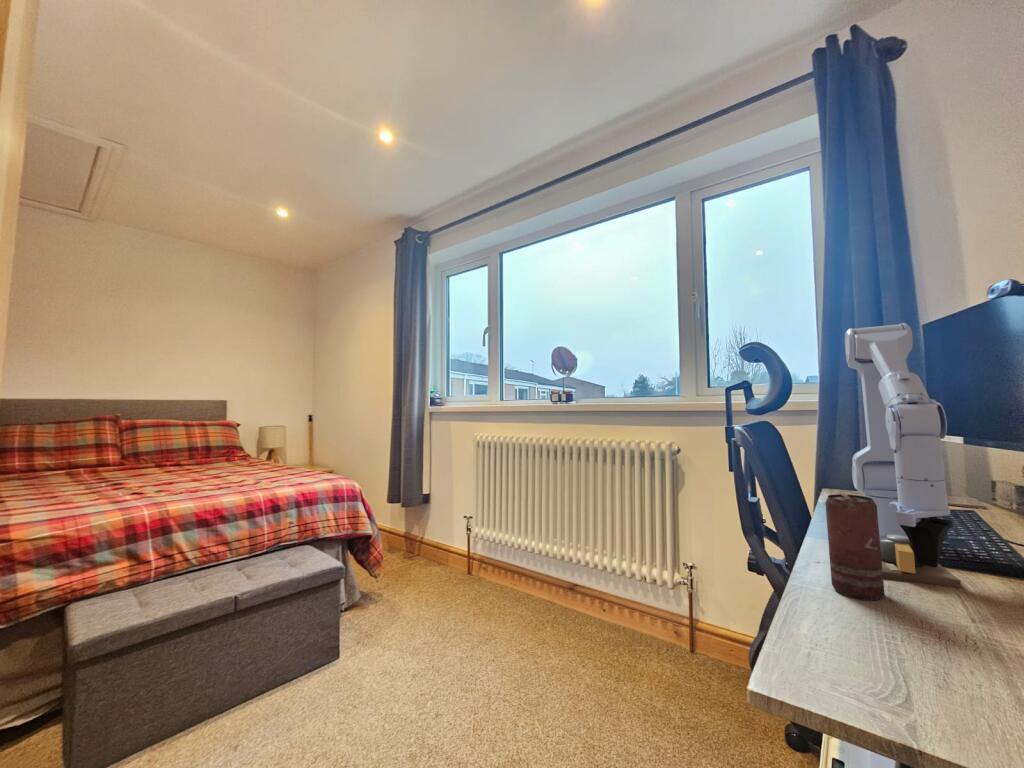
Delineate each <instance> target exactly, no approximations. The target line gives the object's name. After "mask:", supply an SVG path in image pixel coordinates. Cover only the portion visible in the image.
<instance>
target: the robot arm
mask: <svg viewBox="0 0 1024 768" xmlns="http://www.w3.org/2000/svg"><path fill="white" fill-rule="evenodd" d="M912 331H913V330H912V328H911V326H910V325H908V324H907V323H906V322H902V323H899V324H888V325H879V326H877V325H876V326H868V327H859V328H848V329H847V330H846V331H845V334H844V348H845V357H846V363H847V366H848V368H849V369H853V370H855V371H856V370H857V372H858V374H859V378H860V379H861V380H860V381H861V390H862V401H863V410H864V412H863V413H864V423H865V424H864V425H865V432H866V443H867V445H866V447H864V448H862V449H860V450H858V451H857V452H855V453H854V454H853V456H852V458H851V461H852V465H851V476H852V483H853V486H854V489H856V490H857V492H860V493H862V496H864V497H869V498H872V499H873V501H874V502H875V504H876V505H877V513H878V525H879V536H880V535H902V536H907V537H908V539H909V541H910V543H911V546H912V548H913V551H914V554H915V556H916V559H917V561H918V563H919V564H921V565H925V566H930V567H934V568H936V567H938V564H940V560H941V555H942V549H943V545H944V541H945V538H946V536H947V534H948V532H949V531H950V530H951V527H952V526H953V522H952V521H951V520H949V519H944V518H938V517H945V516H950V515H951V509H950V507H949V504H948V503H949V502H948V495H947V494H948V493H947V486H946V485H947V484H946V474H945V463H944V454H943V453H944V452H943V444H942V440H943V439H945V438H946V435H947V432H948V421H947V414H946V411H945V409H944V407H943V405H942V404H941V403H940V402H937V401H936V399H935V398H932V399H931V398H930V397H929V394H928V392H927V389H926V388H925V385H924V383H923V382H922V380H921V377H920V376H919V375H918V374H916V373H914V372H911V371H909V368H908V364H907V358H908V357H909V354H910V352H911V351H912V349H913V344H914V342H913V341H914V340H913V339H914V338H913V332H912Z"/></svg>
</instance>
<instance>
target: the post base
mask: <svg viewBox="0 0 1024 768" xmlns="http://www.w3.org/2000/svg"><path fill="white" fill-rule="evenodd" d="M882 571H883V579H888V580H896V581H904V582H905V581H906V582H913V583H923V584H929V585H938V586H946V587H953V588H954V587H957V588H962V584H961V583H962V582H961V579H959V577H956V576H955V574H953V573H951V572H950V571H949V570H947V569H946V568H945V567H943V566H942V565H941V564H940V563H939V564H938V567H936V568H934V567H930V566H925V565H920V566H915V572H916V574H915V573H908V572H901V571H900V570H899V568H898V566H897V564H896V563H892V562H888V561H885V560H883V559H882Z"/></svg>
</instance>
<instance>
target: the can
mask: <svg viewBox="0 0 1024 768" xmlns="http://www.w3.org/2000/svg"><path fill="white" fill-rule="evenodd" d="M824 504H825V516H826V526H827V527H826V528H827V529H826V530H827V540H828V553H829V554H828V555H829V565H830V568H829V569H830V578H831V580H830V581H831V586H833V587H832V588H833V589H834V590H835V591H836V592H837V593H839V594H841V595H843V596H846V597H849V598H851V599H852V598H853V599H857V600H862V601H879V600H881V599H882V598H883V597H884V596H885V583H884V578H883V571H882V559H881V548H880V536H879V525H878V513H877V505H876V504H875V502H874V501H873V499H872V498H869V497H864V496H863V495H857V494H854V495H853V494H845V493H839V494H837V493H836V494H835V493H834V494H829V495H827V498H826V500H825V503H824Z"/></svg>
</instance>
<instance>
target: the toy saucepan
mask: <svg viewBox="0 0 1024 768" xmlns="http://www.w3.org/2000/svg"><path fill="white" fill-rule="evenodd" d="M880 548H881V559H883V560H885V561H888V562H892V563H896V564H897V566H898V568H899V570H900V571H901V572H908V573H915V574H916V572H915V566H920V565H921V564H919V563H918V561H917V559H916V556H915V554H914V551H913V548H912V546H911V543H910V541H909V539H908V537H907V536H902V535H880Z"/></svg>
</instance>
